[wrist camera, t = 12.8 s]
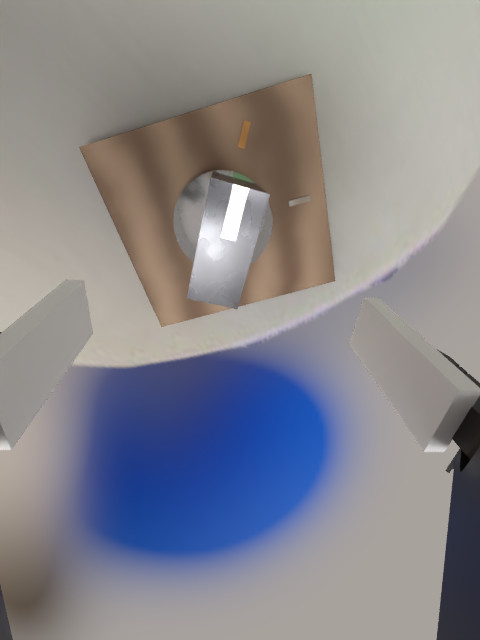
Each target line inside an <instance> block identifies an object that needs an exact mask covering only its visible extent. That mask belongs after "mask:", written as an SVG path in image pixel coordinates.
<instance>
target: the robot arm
mask: <svg viewBox="0 0 480 640" xmlns="http://www.w3.org/2000/svg"><path fill="white" fill-rule="evenodd" d="M92 334H93V331H92V325H91V319H90V313H89V307H88V301H87V295H86V289H85V283H84V281H80V280H65V281H64V282H63V283H61V284H60V285H59V286H58V287H57V288H55V289H54V290H53V291H52V292H50V293H49V294H48V295H47V296H46V297H44V298H43V299H42V300H41V301H40V302H38V303H37V304H36V305H35V306H33V307H32V308H31V309H30V310H29V311H27V312H26V313H25V314H24V315H23V316H21V317H20V318H19V319H18V320H16V321H15V322H14V323H13V324H12V325H10V326H9V327H8V328H7V329H6V330H4V331H3V332H0V450H12V448H13V447H14V446H15V444H16V443H17V441H18V440H19V439H20V437H21V436H22V434H23V433H24V431H25V430H26V428H27V427H28V425H29V424H30V423H31V421H32V420H33V418H34V417H35V416H36V414H37V413H38V411H39V410H40V408H41V407H42V405H43V404H44V403H45V401H46V400H47V398H48V397H49V395H50V394H51V393H52V391H53V390H54V388H55V387H56V385H57V384H58V383H59V381H60V380H61V378H62V377H63V376H64V374H65V373H66V371H67V370H68V368H69V367H70V366H71V364H72V363H73V361H74V360H75V358H76V357H77V356H78V354H79V353H80V351H81V350H82V348H83V347H84V345H85V344H86V343H87V341H88V340H89V338H90V337H91V335H92ZM349 344H350V346H351V347H352V349H353V350H354V352H355V353H356V355H357V356H358V358H359V359H360V361H361V362H362V363H363V365H364V366H365V367H366V369H367V371H368V372H369V373H370V375H371V376H372V378H373V379H374V381H375V382H376V384H377V385H378V386H379V388H380V389H381V391H382V392H383V394H384V395H385V397H386V398H387V399H388V401H389V402H390V404H391V405H392V407H393V408H394V410H395V411H396V412H397V414H398V415H399V417H400V418H401V420H402V421H403V423H404V424H405V425H406V427H407V428H408V430H409V431H410V432H411V434H412V435H413V437H414V438H415V440H416V441H417V443H418V444H419V446H420V447H421V448H422V450H423V451H424V452H445V450H446V449H447V447H448V446H449V444H450V442H451V441H452V439H453V440H454V441H455V443H456V444H457V445H458V446H459V447H460V449H459V451H458V452H457V454H456V455H455V457H454V458H453V460H452V461H451V463H450V464H449V466H448V468H447V469H446V471H447V472H449V473H450V471H451V470H452V469H454V473H453V483H452V493H451V503H450V513H449V523H448V533H447V543H446V552H445V563H444V572H443V582H442V592H441V602H440V612H439V622H438V632H437V640H480V383H479V382H478V381H477V380H476V379H474V378H473V377H472V376H471V375H470V374H467V372H466V371H465V370H464V369H463V368H462V367H459V365H458V364H457V363H456V362H455V361H454V360H453V359H452V358H450V357H449V356H447V355H445V354H444V353H442V352H440V351H439V350H437V349H435V348H434V347H433V346H432V345H431V344H430V343H429V342H428V341H426V340H425V339H424V338H423V337H422V336H421V335H420V334H419V333H417V332H416V331H415V330H414V329H413V328H412V327H411V326H410V325H409V324H407V323H406V322H405V321H404V320H403V319H401V317H400V316H398V315H397V314H396V313H395V312H394V311H393V310H391V309H390V308H389V307H388V306H387V305H386V304H385V303H384V302H383V301H382V300H380V299H379V298H370V297H369V298H368V297H364V299H363V302H362V305H361V308H360V312H359V315H358V318H357V321H356V324H355V327H354V330H353V334H352V337H351V340H350V343H349ZM0 640H13V639H12V635H11V630H10V626H9V621H8V617H7V612H6V608H5V604H4V599H3V595H2V590H1V586H0Z"/></svg>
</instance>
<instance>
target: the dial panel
mask: <svg viewBox="0 0 480 640" xmlns="http://www.w3.org/2000/svg"><path fill="white" fill-rule="evenodd" d="M79 148H80V150H81V152H82V155H83V157H84V159H85V161H86V163H87V165H88V168H89V170H90V172H91V174H92V176H93V178H94V181H95V183H96V185H97V187H98V189H99V192H100V194H101V196H102V198H103V200H104V202H105V205H106V207H107V209H108V211H109V213H110V216H111V218H112V220H113V222H114V224H115V226H116V229H117V231H118V233H119V235H120V237H121V240H122V242H123V244H124V246H125V248H126V250H127V253H128V255H129V257H130V259H131V261H132V264H133V266H134V268H135V270H136V272H137V274H138V277H139V279H140V281H141V283H142V285H143V287H144V290H145V292H146V294H147V296H148V298H149V301H150V303H151V305H152V307H153V309H154V311H155V314H156V316H157V318H158V320H159V322H160V325H161V327H164V326H167V325H171V324H175V323H179V322H182V321H186V320H190V319H194V318H197V317H201V316H205V315H209V314H213V313H216V312H220V311H224V310H228V309H231V308H229V307H224V306H220V305H215V304H210V303H205V302H200V301H196V300H191V299H187V295H188V290H189V285H190V280H191V274H192V269H193V264H194V262H193V261H191V260H190V259H189V258H188V257H187V256H186V254H185V253H184V252H183V250H182V249H181V247H180V245H179V243H178V241H177V239H176V235H175V231H174V223H173V218H174V210H175V206H176V203H177V200H178V198H179V196H180V195H181V193H182V191H183V190H184V189H185V187H186V186H187V185H188V184H189V183H190V182H191V181H193V180H194V179H195V178H197V177H198V176H200V175H202V174H204V173H207V172H210V171H214V170H230V171H235V172H238V173H240V174H243V175H244V176H246V177H248V178H249V179H251V180H252V181H253V182H255V183H256V184H257V185H258V186H260V187H261V188H263V189H264V190H265V191H267V192H268V193H269V194H270V197H269V200H268V202H269V204H270V208H271V211H272V218H273V226H272V233H271V237H270V240H269V243H268V245H267V247H266V249H265V250H264V252H263V253H262V254H261V256H260V257H259V258H258V259H257V260H256V261H254V262H253V263H252V264H250V266H249V270H248V273H247V277H246V280H245V284H244V287H243V291H242V294H241V298H240V301H239V304H238V307H239V306H243V305H246V304H250V303H254V302H258V301H261V300H265V299H269V298H273V297H277V296H280V295H284V294H288V293H292V292H295V291H299V290H303V289H307V288H310V287H314V286H318V285H322V284H325V283H329V282H333V281H335V276H334V267H333V258H332V250H331V241H330V232H329V223H328V215H327V206H326V197H325V188H324V180H323V171H322V162H321V153H320V145H319V136H318V127H317V118H316V110H315V101H314V92H313V83H312V75H311V74H309V75H306V76H303V77H299V78H296V79H293V80H290V81H287V82H284V83H280V84H277V85H274V86H271V87H268V88H265V89H262V90H258V91H255V92H252V93H249V94H246V95H243V96H239V97H236V98H233V99H230V100H227V101H224V102H220V103H217V104H214V105H211V106H208V107H205V108H202V109H198V110H195V111H192V112H189V113H186V114H183V115H179V116H176V117H173V118H170V119H167V120H164V121H160V122H157V123H154V124H151V125H148V126H145V127H141V128H138V129H135V130H132V131H129V132H126V133H123V134H119V135H116V136H113V137H110V138H107V139H104V140H100V141H97V142H94V143H91V144H88V145H85V146H81V147H79Z"/></svg>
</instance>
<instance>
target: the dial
mask: <svg viewBox="0 0 480 640" xmlns="http://www.w3.org/2000/svg"><path fill="white" fill-rule="evenodd" d="M269 197H270V194H269V193H268V192H267V191H265V190H264V189H263V188H261V187H260V186H258V185H257V184H256V183H255V182H253V181H252V180H251V179H249V178H248V177H246V176H244V175H243V174H240V173H238V172H235V171H230V170H214V171H210V172H207V173H204V174H202V175H200V176H198V177H197V178H195V179H194V180H193V181H191V182H190V183H189V184H188V185H187V186H186V187H185V189H184V190H183V191H182V193H181V195H180V196H179V198H178V200H177V203H176V206H175V210H174V218H173V223H174V231H175V235H176V239H177V241H178V243H179V245H180V247H181V249H182V250H183V252H184V253H185V254H186V256H187V257H188V258H189V259H190V260H191V261H193V262H194V264H193V269H192V274H191V280H190V285H189V290H188V295H187V299H191V300H196V301H200V302H205V303H210V304H215V305H220V306H224V307H229V308H234V309H237V308H238V304H239V301H240V298H241V294H242V291H243V287H244V284H245V280H246V277H247V273H248V270H249V266H250V264H252V263H253V262H254V261H256V260H257V259H258V258H259V257H260V256H261V254H262V253H263V252H264V250H265V249H266V247H267V245H268V243H269V240H270V237H271V233H272V226H273V218H272V211H271V208H270V204H269V202H268V200H269Z"/></svg>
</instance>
